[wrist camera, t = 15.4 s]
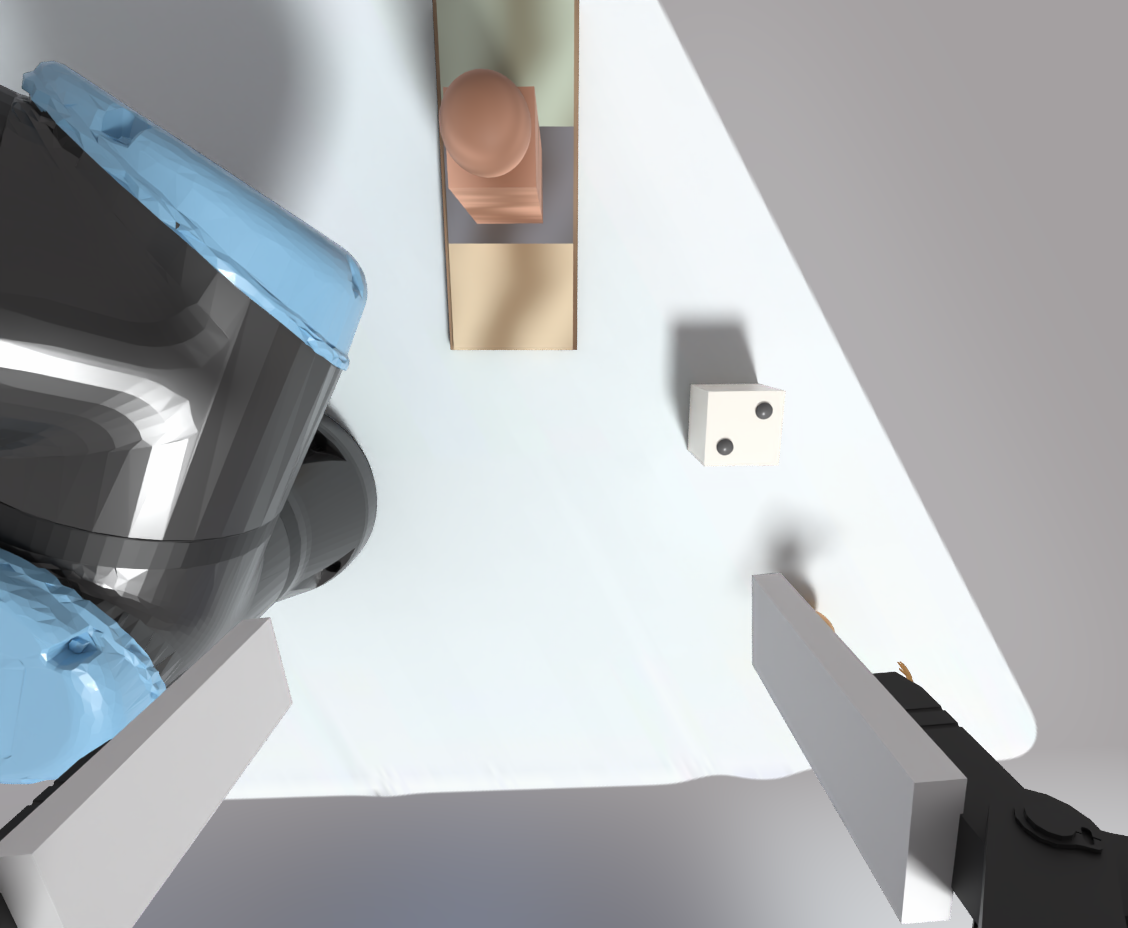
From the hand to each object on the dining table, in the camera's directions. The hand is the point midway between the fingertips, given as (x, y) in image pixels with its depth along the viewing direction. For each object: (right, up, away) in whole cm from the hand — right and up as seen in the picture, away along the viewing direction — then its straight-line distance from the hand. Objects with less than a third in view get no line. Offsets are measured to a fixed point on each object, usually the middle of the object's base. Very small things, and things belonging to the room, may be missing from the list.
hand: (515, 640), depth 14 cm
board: (-2, +23, +21) cm, 32 cm away
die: (+13, +8, +25) cm, 30 cm away
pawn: (-2, +23, +20) cm, 31 cm away
